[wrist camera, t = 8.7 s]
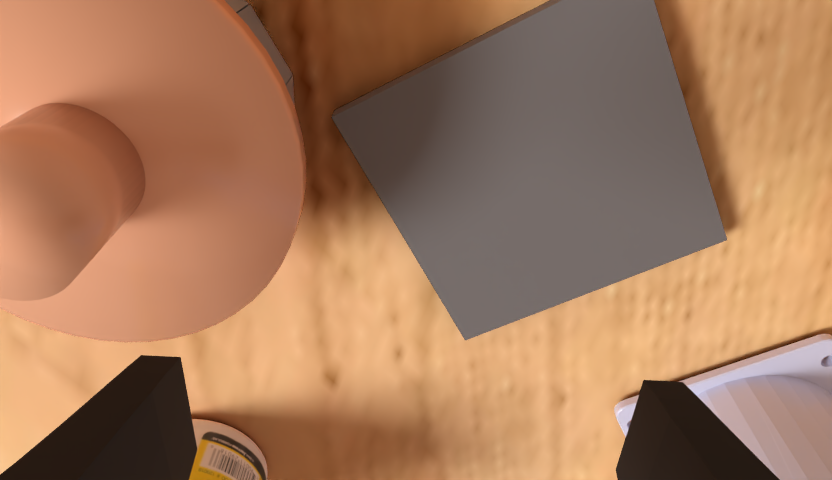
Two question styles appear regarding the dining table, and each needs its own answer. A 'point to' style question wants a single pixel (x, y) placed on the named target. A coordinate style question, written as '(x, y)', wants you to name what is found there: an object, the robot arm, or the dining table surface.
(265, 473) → the supplement bottle
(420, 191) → the mat
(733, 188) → the dining table surface
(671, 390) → the robot arm
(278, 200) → the lid
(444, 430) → the dining table surface
